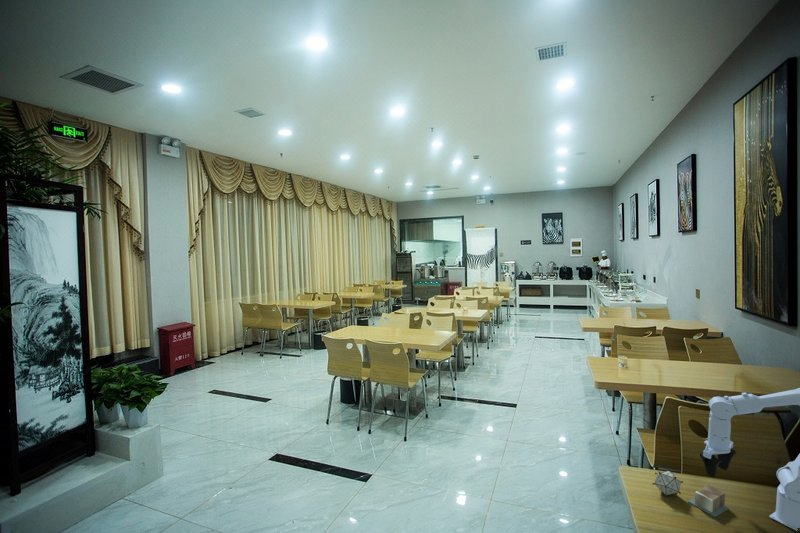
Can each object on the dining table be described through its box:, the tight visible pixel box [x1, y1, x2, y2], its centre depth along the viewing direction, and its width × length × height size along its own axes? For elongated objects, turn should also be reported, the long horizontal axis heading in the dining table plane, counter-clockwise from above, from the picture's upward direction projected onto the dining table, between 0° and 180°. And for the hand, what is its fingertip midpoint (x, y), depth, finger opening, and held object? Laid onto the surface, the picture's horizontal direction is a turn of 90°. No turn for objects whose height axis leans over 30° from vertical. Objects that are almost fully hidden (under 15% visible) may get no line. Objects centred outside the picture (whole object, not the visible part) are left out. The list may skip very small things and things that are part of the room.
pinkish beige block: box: [694, 484, 726, 512], centre depth 134 cm, size 5×4×8 cm
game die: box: [651, 467, 684, 499], centre depth 140 cm, size 9×8×10 cm
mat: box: [688, 497, 729, 518], centre depth 134 cm, size 8×8×1 cm
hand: (717, 472), depth 135 cm, fingers open, 7 cm apart
